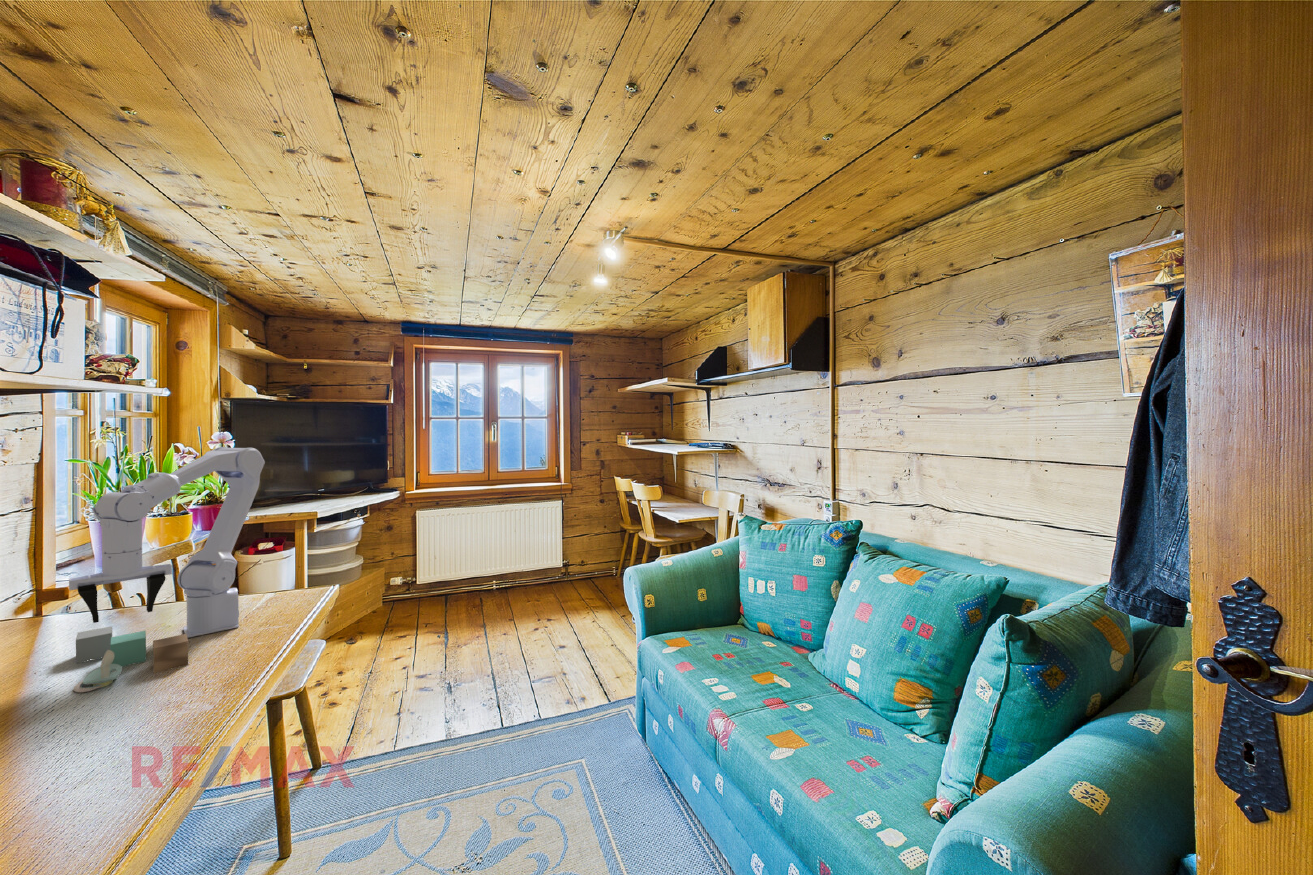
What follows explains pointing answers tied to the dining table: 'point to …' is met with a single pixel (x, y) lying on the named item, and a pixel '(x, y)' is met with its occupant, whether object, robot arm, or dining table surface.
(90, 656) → the slate block
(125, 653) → the teal block
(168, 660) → the walnut block
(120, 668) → the pacifier
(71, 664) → the dining table surface
